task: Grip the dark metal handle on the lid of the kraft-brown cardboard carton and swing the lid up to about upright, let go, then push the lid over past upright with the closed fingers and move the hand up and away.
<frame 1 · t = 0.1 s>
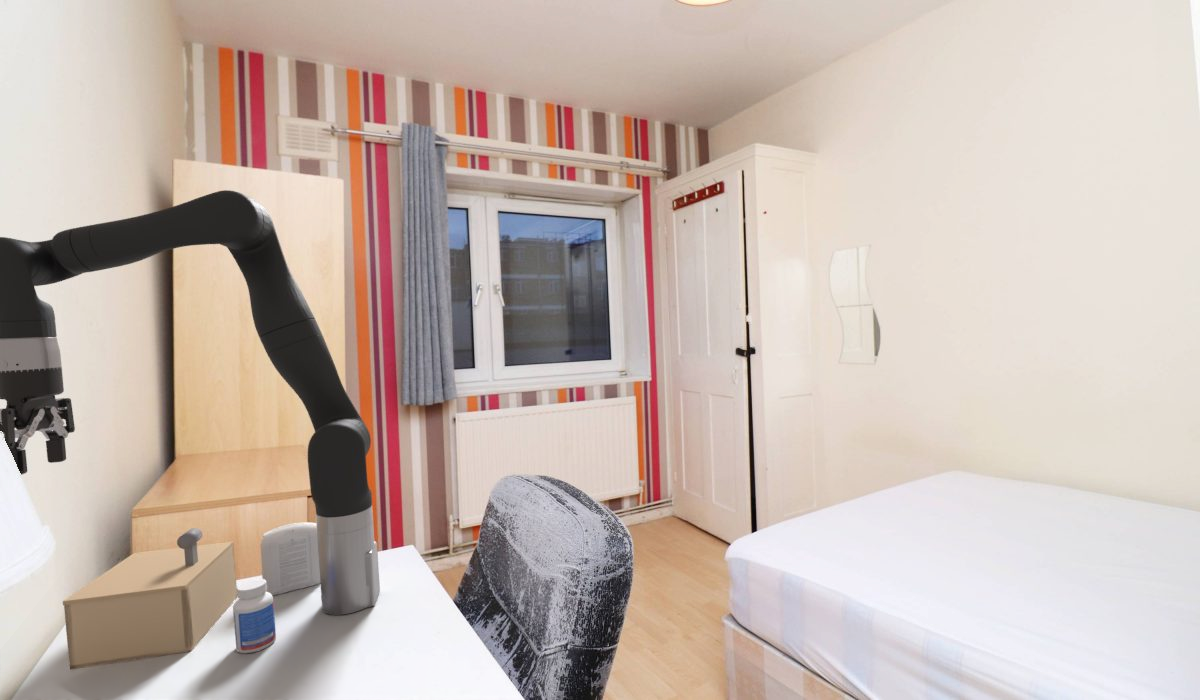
hand: (38, 467, 89), 29 cm above the table, tool pointing down, fingers open, 8 cm apart
photo printer: (294, 588, 108), on the table
carton: (163, 629, 94), on the table
carton lid: (156, 553, 94), point 13 cm above the table, hinge at 0.0°
pill bottle: (256, 645, 89), on the table
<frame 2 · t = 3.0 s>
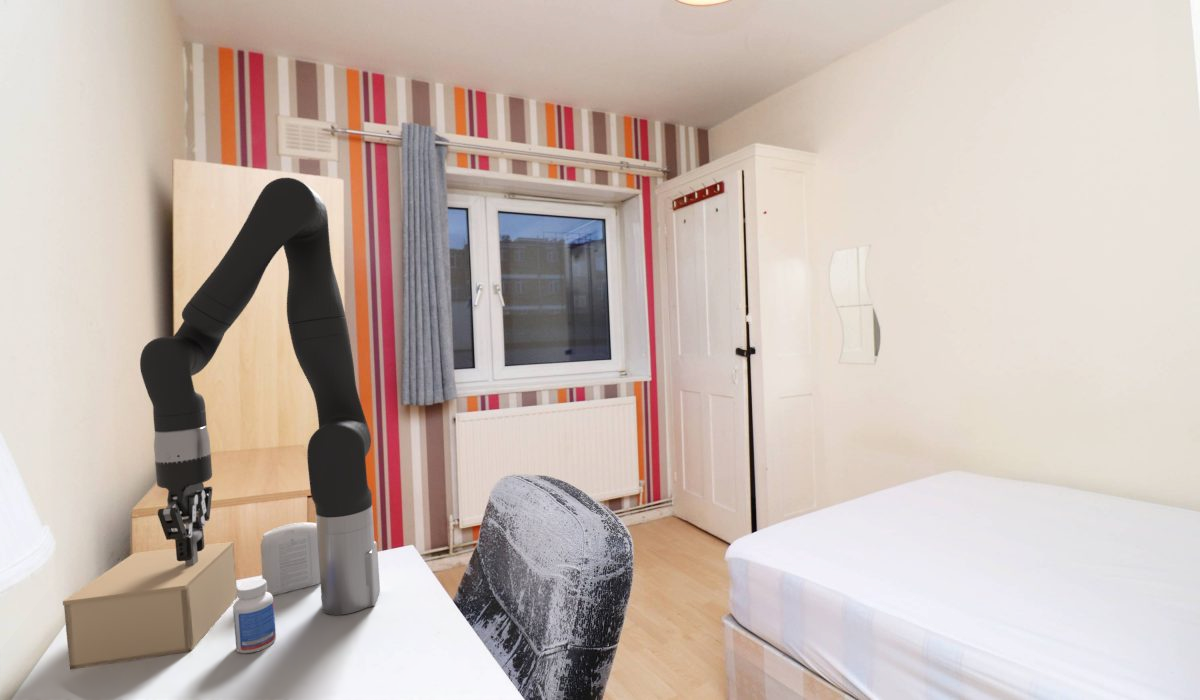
hand: (191, 554, 95), 12 cm above the table, tool pointing down, fingers closed on carton lid, 3 cm apart
carton lid: (156, 553, 94), point 13 cm above the table, hinge at 0.0°, touching carton, gripper
everything else where it was.
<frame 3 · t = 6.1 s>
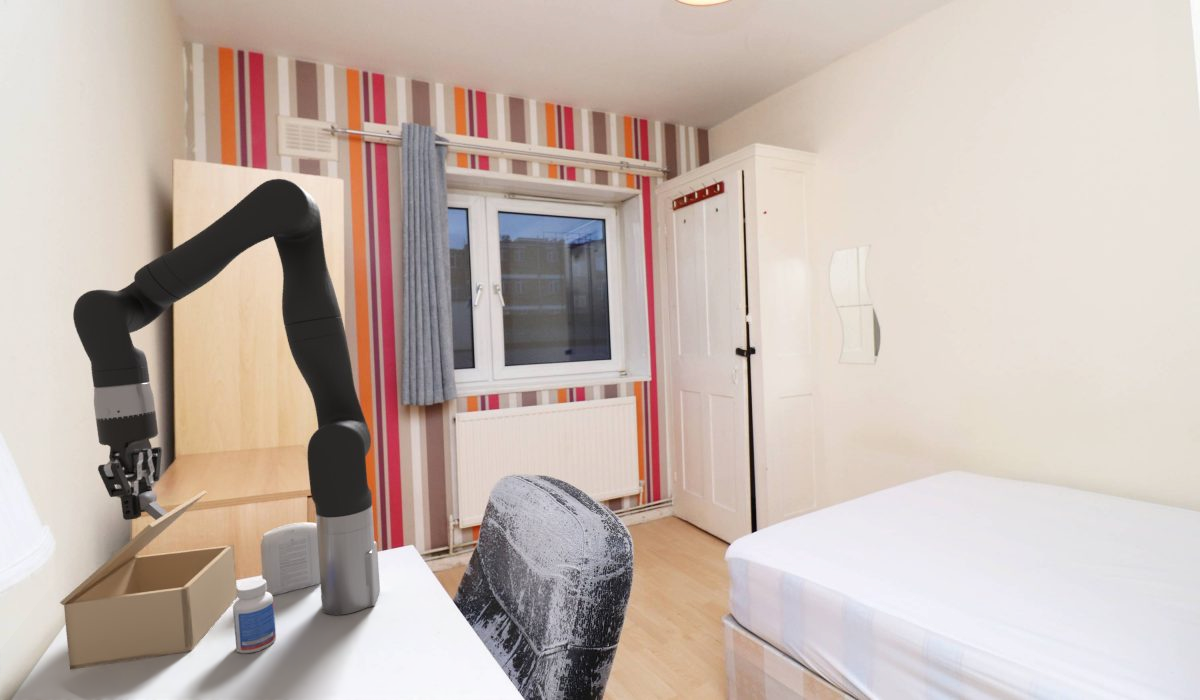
hand: (139, 514, 93), 20 cm above the table, tool pointing down, fingers closed on carton lid, 3 cm apart
carton lid: (127, 530, 93), point 18 cm above the table, hinge at 40.2°, touching carton, gripper
everything else where it was.
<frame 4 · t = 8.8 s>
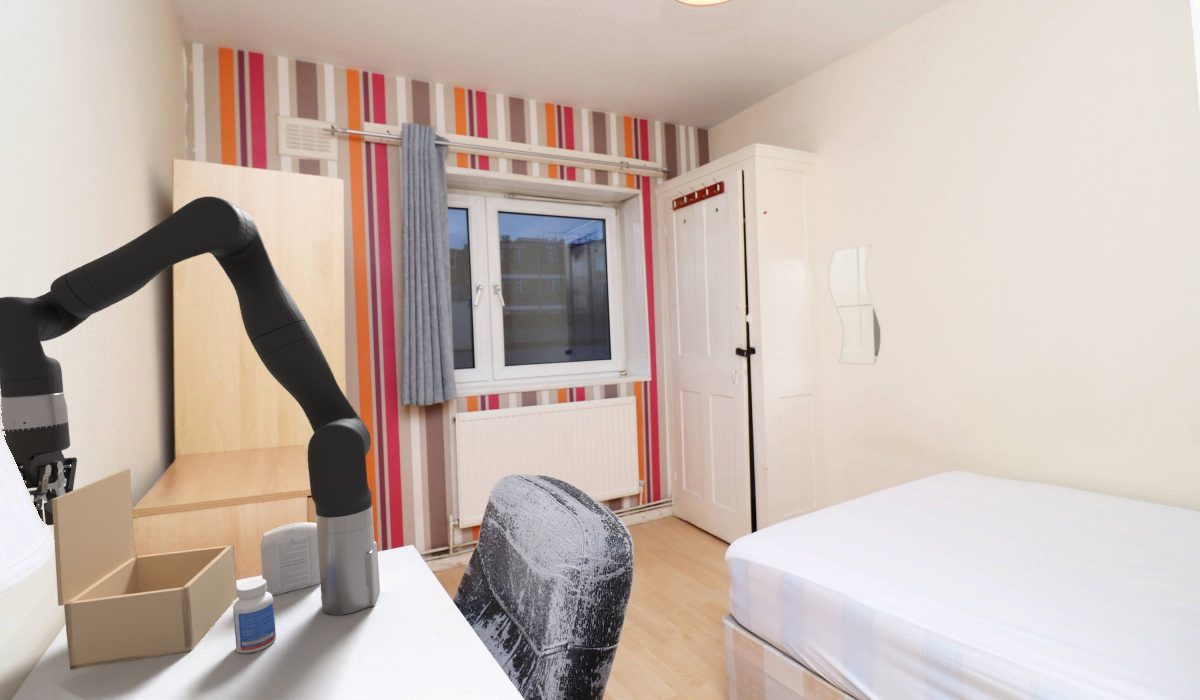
hand: (45, 528, 90), 19 cm above the table, tool pointing down, fingers open, 4 cm apart
carton lid: (77, 532, 91), point 18 cm above the table, hinge at 88.5°
everything else where it was.
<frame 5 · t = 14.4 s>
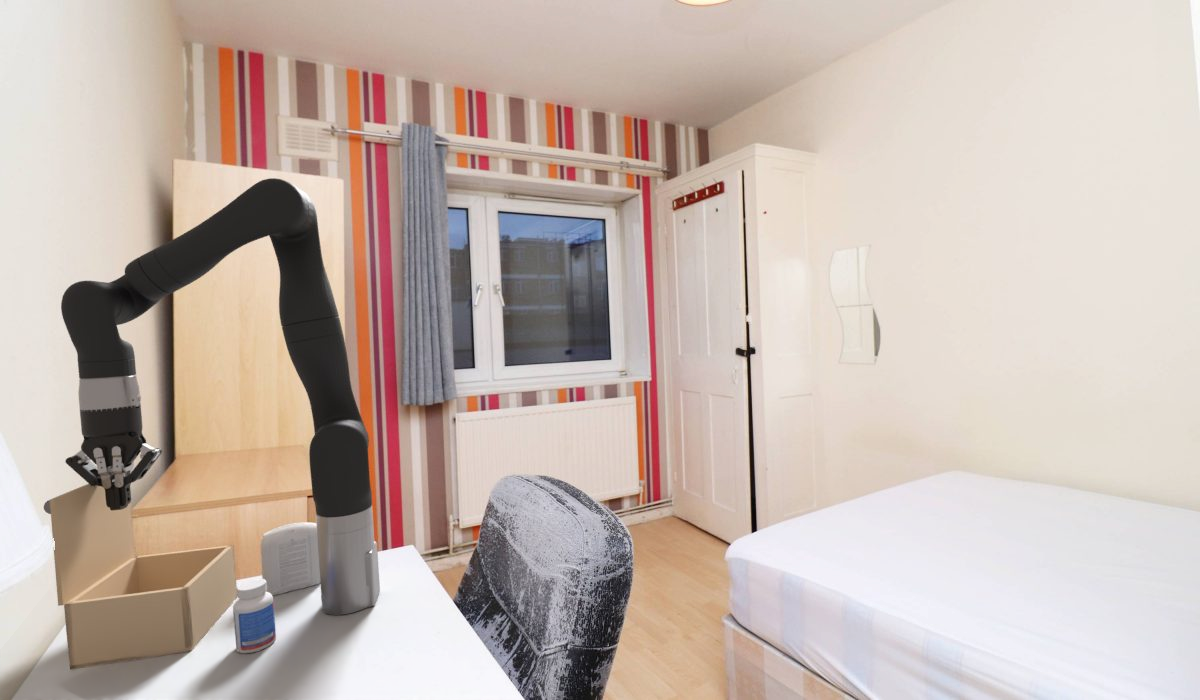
hand: (119, 508, 92), 21 cm above the table, tool pointing down, fingers closed
carton lid: (76, 532, 91), point 18 cm above the table, hinge at 89.5°, touching gripper, hand
everything else where it was.
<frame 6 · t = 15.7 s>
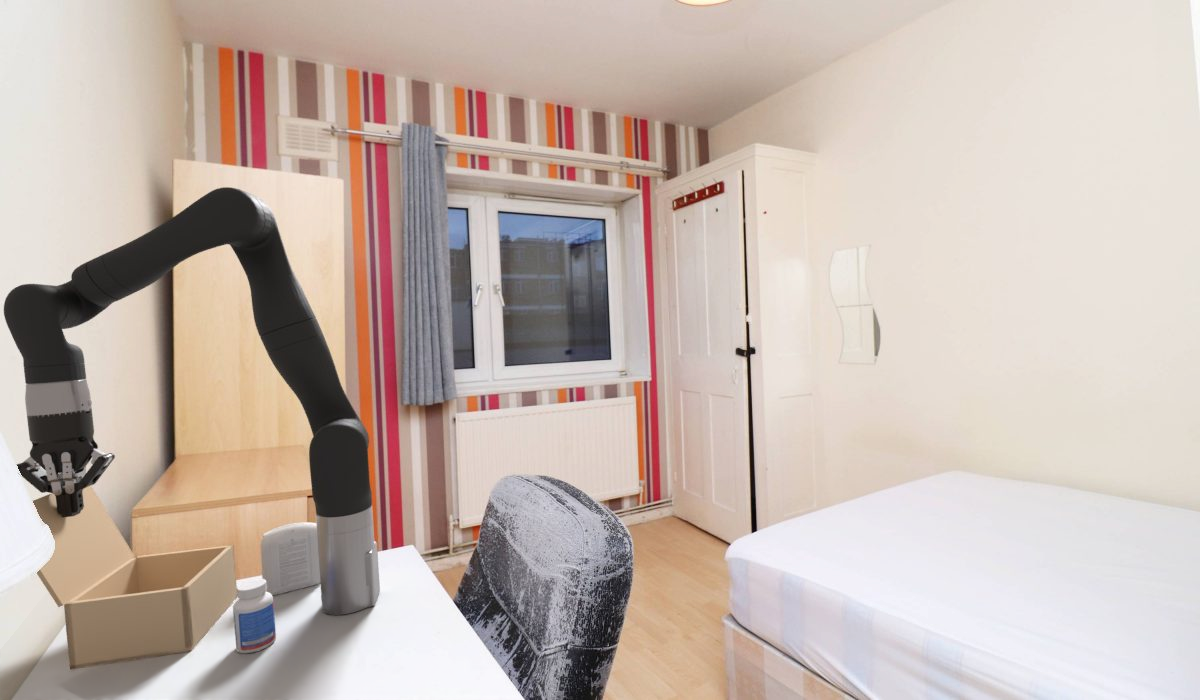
hand: (71, 515, 91), 21 cm above the table, tool pointing down, fingers closed
carton lid: (55, 546, 90), point 16 cm above the table, hinge at 112.9°, touching carton, gripper
everything else where it was.
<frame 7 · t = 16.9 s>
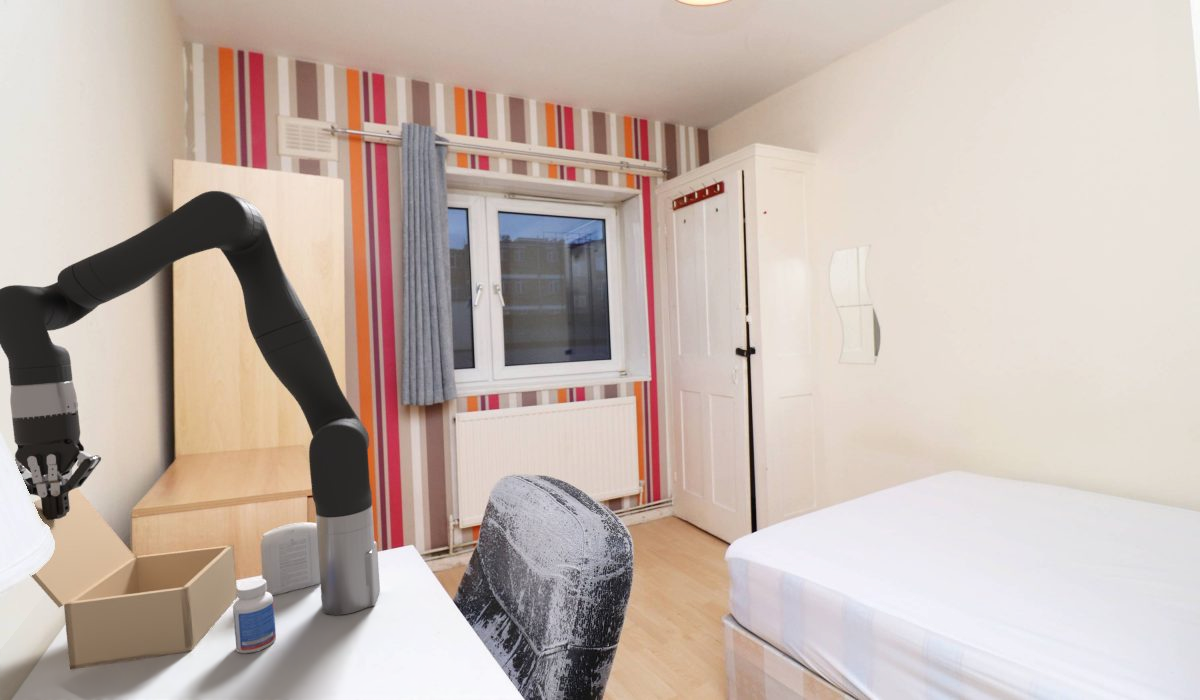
hand: (57, 517, 90), 21 cm above the table, tool pointing down, fingers closed
carton lid: (50, 551, 90), point 15 cm above the table, hinge at 120.1°, touching gripper
everything else where it was.
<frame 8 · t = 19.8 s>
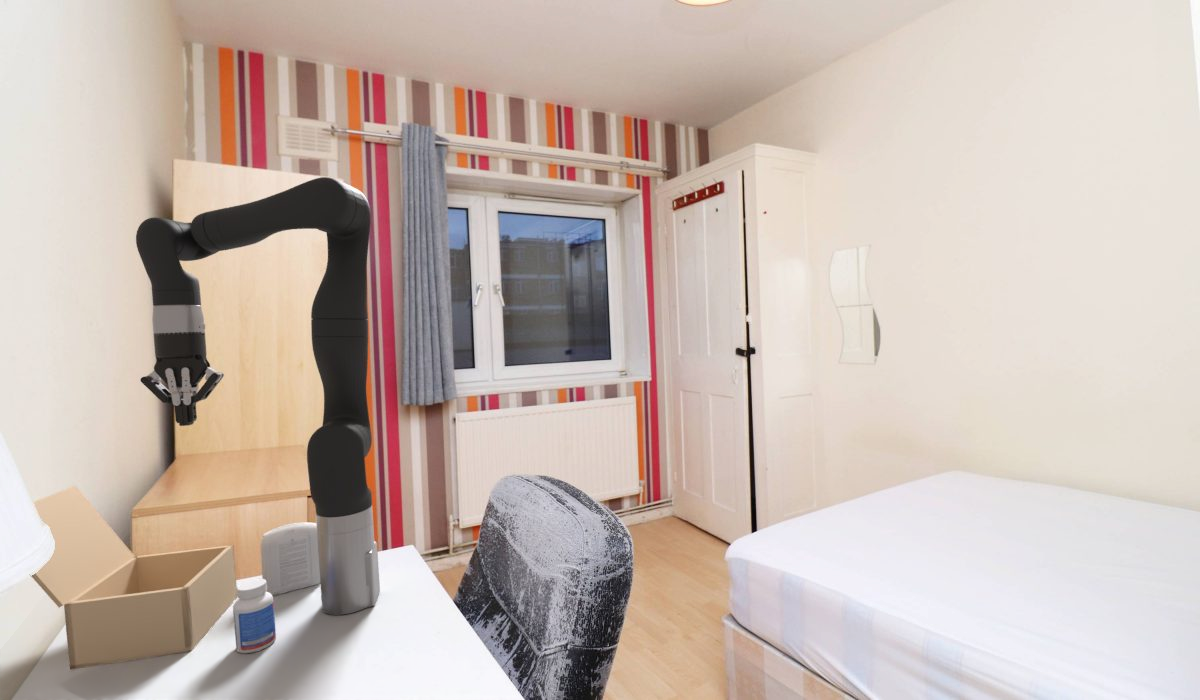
hand: (186, 424, 103), 33 cm above the table, tool pointing down, fingers closed
carton lid: (50, 551, 90), point 15 cm above the table, hinge at 120.1°
everything else where it was.
at the end: carton lid at +120° (first picture: +0°); the gripper is holding nothing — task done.
